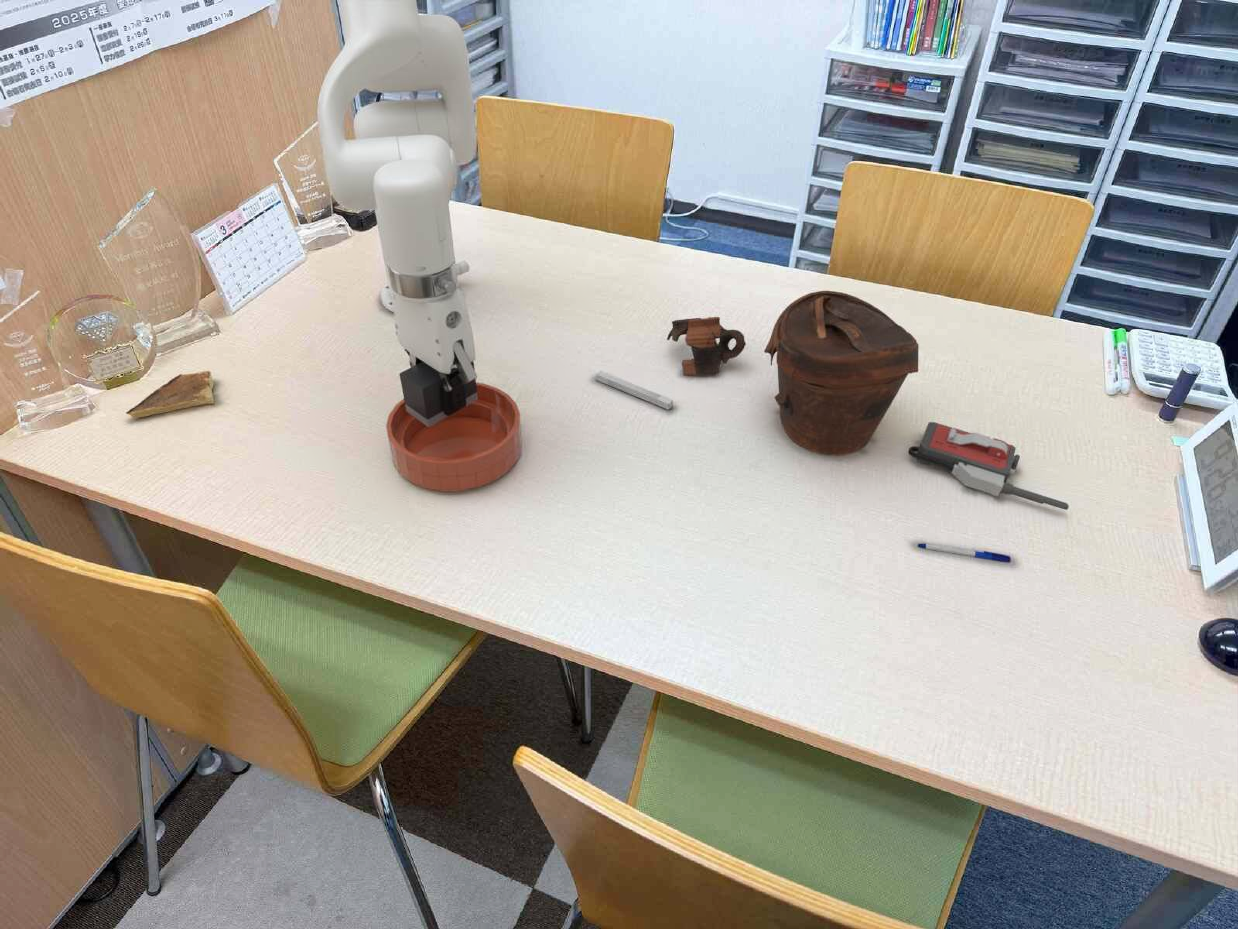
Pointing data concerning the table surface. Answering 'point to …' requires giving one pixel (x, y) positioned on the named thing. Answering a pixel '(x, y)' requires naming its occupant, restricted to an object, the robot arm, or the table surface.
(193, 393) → the shard
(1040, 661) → the table surface
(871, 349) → the case
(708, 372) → the pottery mug
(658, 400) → the grey bar
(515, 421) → the bowl
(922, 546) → the ballpoint pen
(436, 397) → the eraser
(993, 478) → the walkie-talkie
